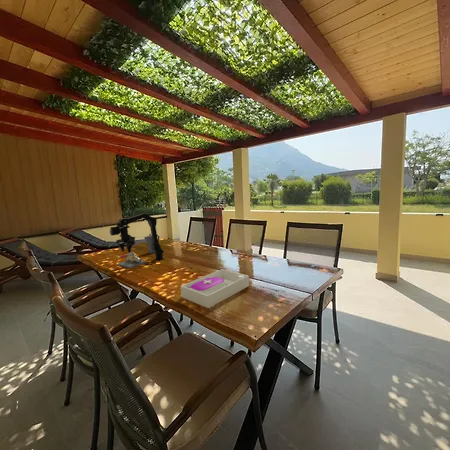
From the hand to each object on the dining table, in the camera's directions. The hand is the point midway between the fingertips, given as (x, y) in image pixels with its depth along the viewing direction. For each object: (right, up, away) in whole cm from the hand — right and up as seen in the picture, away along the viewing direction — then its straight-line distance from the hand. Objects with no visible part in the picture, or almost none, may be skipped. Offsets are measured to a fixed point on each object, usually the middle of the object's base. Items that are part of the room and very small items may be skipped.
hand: (126, 252), depth 199 cm
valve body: (+2, -10, +13) cm, 16 cm away
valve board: (+1, -12, +11) cm, 16 cm away
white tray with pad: (+77, -18, -56) cm, 97 cm away
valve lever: (-2, -4, +7) cm, 9 cm away
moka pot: (+8, -6, +49) cm, 50 cm away
